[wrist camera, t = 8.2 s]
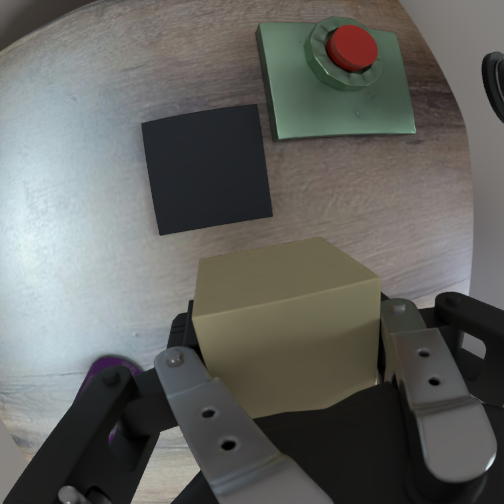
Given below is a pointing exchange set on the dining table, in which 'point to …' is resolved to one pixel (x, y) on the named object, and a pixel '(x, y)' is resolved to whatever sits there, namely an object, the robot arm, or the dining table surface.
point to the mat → (207, 168)
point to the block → (288, 325)
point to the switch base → (331, 84)
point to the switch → (352, 48)
